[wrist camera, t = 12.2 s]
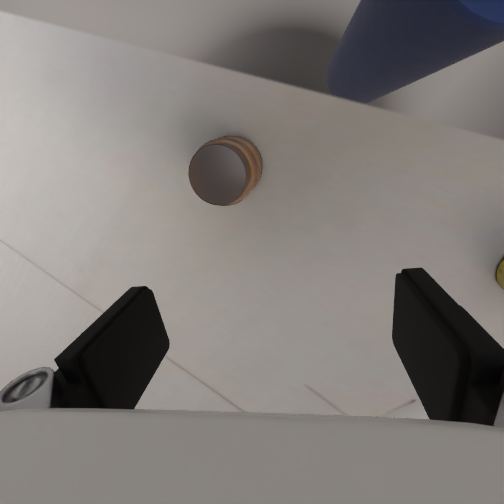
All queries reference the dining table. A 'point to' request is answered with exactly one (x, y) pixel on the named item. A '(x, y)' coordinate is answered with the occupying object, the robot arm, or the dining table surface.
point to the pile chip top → (250, 159)
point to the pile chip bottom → (252, 149)
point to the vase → (501, 274)
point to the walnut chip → (219, 173)
